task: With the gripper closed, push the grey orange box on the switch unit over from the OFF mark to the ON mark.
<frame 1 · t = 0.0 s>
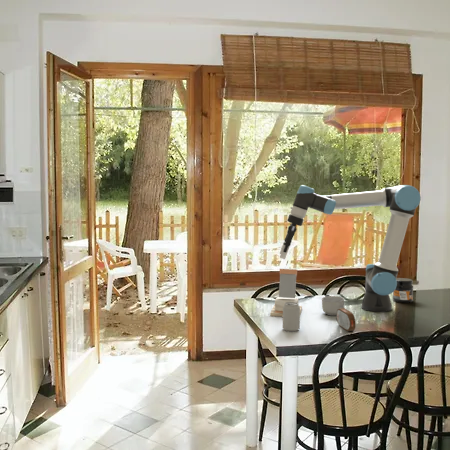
hand: (282, 256, 273), 28 cm above the table, tool tilted 20°, fingers open, 13 cm apart
light grey rounded block: (332, 313, 274), on the table
supplement container: (402, 301, 302), on the table
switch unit: (286, 312, 275), on the table
tin: (345, 329, 246), on the table
grey orange box: (287, 283, 277), point 14 cm above the table, hinge at -25.0°
can: (290, 330, 243), on the table
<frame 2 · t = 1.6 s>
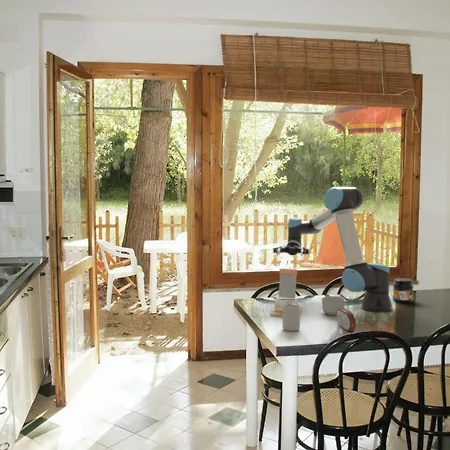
hand: (289, 253, 284), 28 cm above the table, tool horizontal, fingers open, 11 cm apart
nothing on the table moved.
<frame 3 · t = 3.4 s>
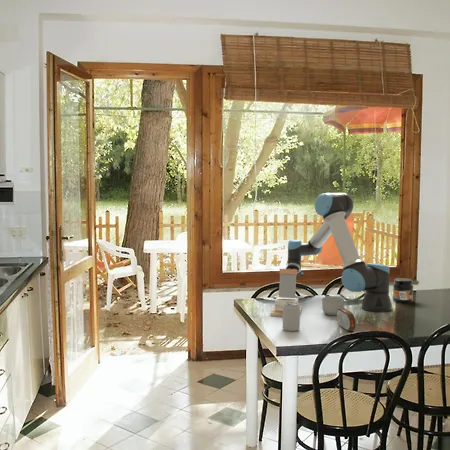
hand: (288, 277, 284), 15 cm above the table, tool horizontal, fingers closed
nothing on the table moved.
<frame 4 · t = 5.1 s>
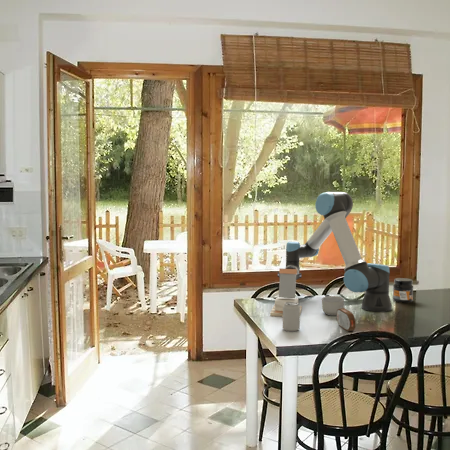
hand: (286, 280, 279), 15 cm above the table, tool horizontal, fingers closed
grey orange box: (287, 283, 276), point 14 cm above the table, hinge at -21.5°, touching gripper
everything else where it was.
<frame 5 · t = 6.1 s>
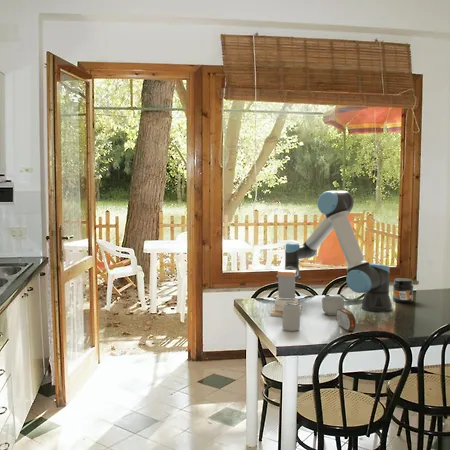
hand: (285, 282, 273), 15 cm above the table, tool horizontal, fingers closed
grey orange box: (286, 284, 272), point 14 cm above the table, hinge at 12.6°, touching gripper
everything else where it was.
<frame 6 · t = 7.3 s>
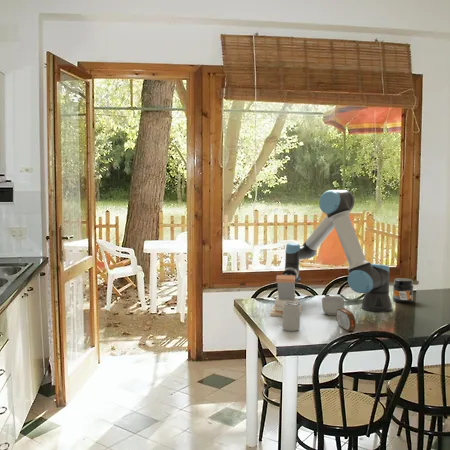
hand: (284, 284, 270), 15 cm above the table, tool horizontal, fingers closed
grey orange box: (286, 287, 269), point 13 cm above the table, hinge at 33.7°, touching gripper
everything else where it was.
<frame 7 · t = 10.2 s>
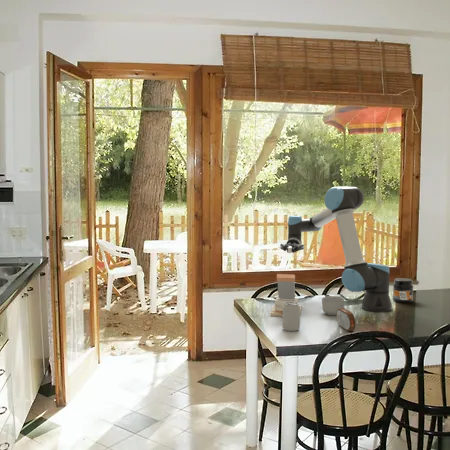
hand: (289, 250, 282), 30 cm above the table, tool horizontal, fingers closed
grey orange box: (286, 287, 270), point 13 cm above the table, hinge at 30.6°
everything else where it was.
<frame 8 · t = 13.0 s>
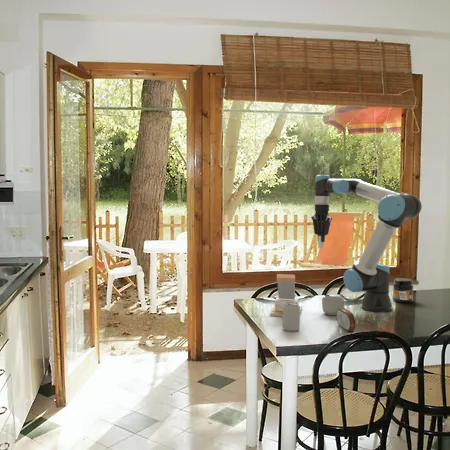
hand: (320, 247, 296), 29 cm above the table, tool pointing down, fingers closed
nothing on the table moved.
at the end: grey orange box at +31° (first picture: -25°) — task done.
